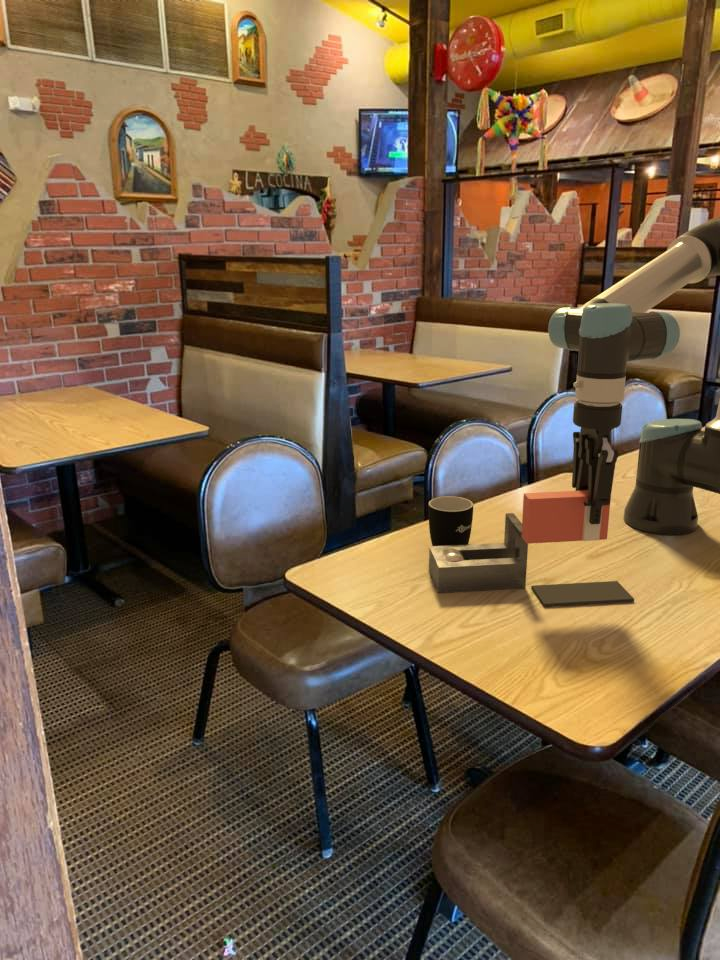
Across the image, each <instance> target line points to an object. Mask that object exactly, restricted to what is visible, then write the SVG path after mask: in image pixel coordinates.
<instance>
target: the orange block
mask: <svg viewBox="0 0 720 960" xmlns="http://www.w3.org/2000/svg"><path fill="white" fill-rule="evenodd" d="M611 499H612V497H611V498H610V501H611ZM584 502H588V490H582V491H575V490H565V491H562V490H561V491H546V492H545V491H544V492H524V493H523V500H522V519H521V523H522V536H521V537H522V538H523V540H524V541H525V542H526V543H527V544H528V545H529V544H544V543H565V542H584V541H583V540H582V534H583V522H584V511H585V506H584ZM610 509H611V503H610V504H609V505H603V506H602V516H601V526H600V537H599V540H598V541H602V540H603V541H604V540H608V533H609V532H608V531H609V530H608V529H609V522H610V512H611V511H610Z"/></svg>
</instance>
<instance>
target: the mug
mask: <svg viewBox="0 0 720 960" xmlns="http://www.w3.org/2000/svg"><path fill="white" fill-rule="evenodd" d="M427 509H428V512H427V513H428V525H429V526H428V530H429V536H430V541H431V545H432V546H449V545H469V542H470V539H471V533H472V528H473V527H472V526H473V517H474V503H473V502H472V501H471V500H470V499H467V498H465V497H461V496H454V495H451V496H450V495H448V496H445V495H444V496H438V497H434V498H432V499H431V500H429V501H428V507H427Z"/></svg>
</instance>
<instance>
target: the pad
mask: <svg viewBox="0 0 720 960" xmlns="http://www.w3.org/2000/svg"><path fill="white" fill-rule="evenodd" d="M530 589H531V591H532V592H533V593H534V595H535V596H536V598H537V599H538V601H539V602H540V604H541V605H542V607H543V608H549V607H552V608H553V607H564V606H565V607H566V606H586V605H602V604H603V605H604V604H619V603H634V602H635V598H634V597H633V595H632V594H630V593H629V592H628V591H627V589H626V588H624V586H623V585H622V584H621V583H620V582H619V581H618V580H611V581H591V582H589V581H588V582H574V583H572V582H571V583H556V584H555V583H554V584H538V585H537V584H536V585H535V584H533V585H531V587H530Z"/></svg>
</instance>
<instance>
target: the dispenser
mask: <svg viewBox="0 0 720 960" xmlns="http://www.w3.org/2000/svg"><path fill="white" fill-rule="evenodd" d="M504 520H505V521H504V539H503V540H504V541H503V542H493V543H474V544H473V543H471V544H469V543H468V545H449V546H430V545H429V549H428V550H429V551H428V553H429V554H428V557H429V558H428V571H429V574H430V576H431V578H432V581H433V583H434V586H435V588H436V591H437V593H438V594H447V593H461V592H463V593H464V592H465V593H466V592H476V591H477V592H482V591H497V590H500V591H501V590H518V589H526V583H527V567H528V554H529V552H528V551H529V549H528V548H529V544H527V543H526V542H525V541H524V540H523V538H522V537H521V536H522V521H521V520H520V519H519V518H518V516H516V515H515V513H514V512H510V513H505V518H504Z"/></svg>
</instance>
